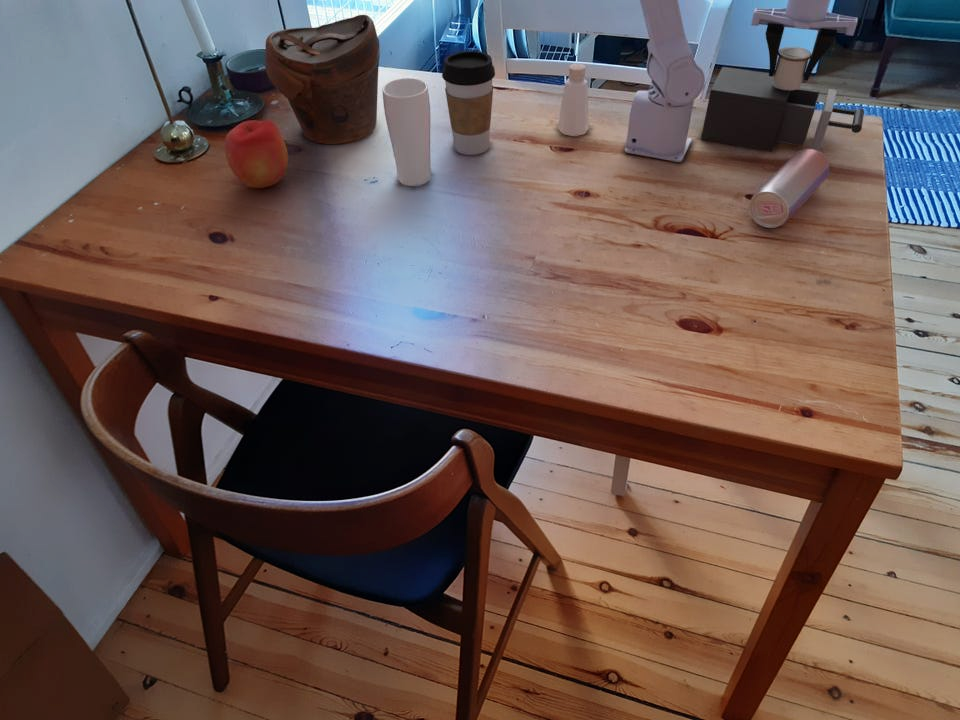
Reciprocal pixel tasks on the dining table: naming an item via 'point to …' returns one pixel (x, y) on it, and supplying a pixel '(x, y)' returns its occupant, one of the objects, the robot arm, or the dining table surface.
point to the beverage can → (789, 188)
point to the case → (328, 77)
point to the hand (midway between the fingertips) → (788, 76)
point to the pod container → (790, 68)
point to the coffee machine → (744, 109)
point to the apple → (256, 153)
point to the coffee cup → (469, 99)
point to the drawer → (801, 115)
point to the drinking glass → (409, 128)
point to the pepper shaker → (574, 103)
